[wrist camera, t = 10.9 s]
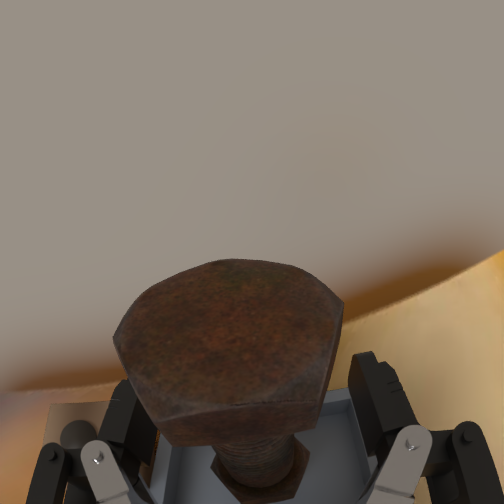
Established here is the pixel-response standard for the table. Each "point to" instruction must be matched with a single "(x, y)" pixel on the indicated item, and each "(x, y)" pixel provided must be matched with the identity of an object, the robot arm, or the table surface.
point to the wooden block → (81, 428)
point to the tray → (314, 479)
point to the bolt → (235, 367)
